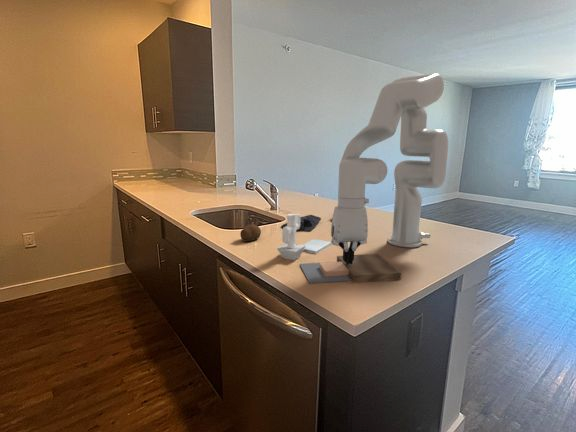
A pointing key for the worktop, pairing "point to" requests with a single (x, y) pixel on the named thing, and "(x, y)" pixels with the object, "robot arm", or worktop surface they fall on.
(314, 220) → the dark slate chunk
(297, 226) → the figurine
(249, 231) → the potato
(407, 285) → the worktop surface
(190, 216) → the worktop surface
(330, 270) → the tile
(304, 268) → the mat
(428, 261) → the worktop surface
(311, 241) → the hard drive
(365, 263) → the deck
